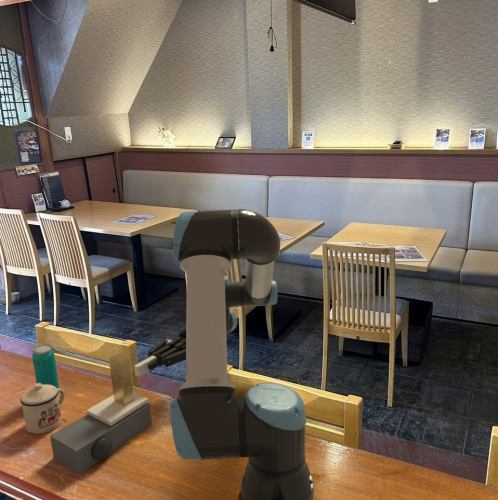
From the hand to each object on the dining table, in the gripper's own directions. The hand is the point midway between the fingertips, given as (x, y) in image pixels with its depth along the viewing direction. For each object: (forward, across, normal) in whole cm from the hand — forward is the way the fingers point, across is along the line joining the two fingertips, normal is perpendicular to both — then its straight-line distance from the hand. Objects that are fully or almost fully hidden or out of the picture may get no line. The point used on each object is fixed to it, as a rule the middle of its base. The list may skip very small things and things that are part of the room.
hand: (136, 371), depth 130 cm
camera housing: (+12, 0, -13) cm, 18 cm away
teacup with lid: (+15, +19, -14) cm, 28 cm away
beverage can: (+8, +30, -14) cm, 34 cm away
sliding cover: (+7, 0, -7) cm, 10 cm away
